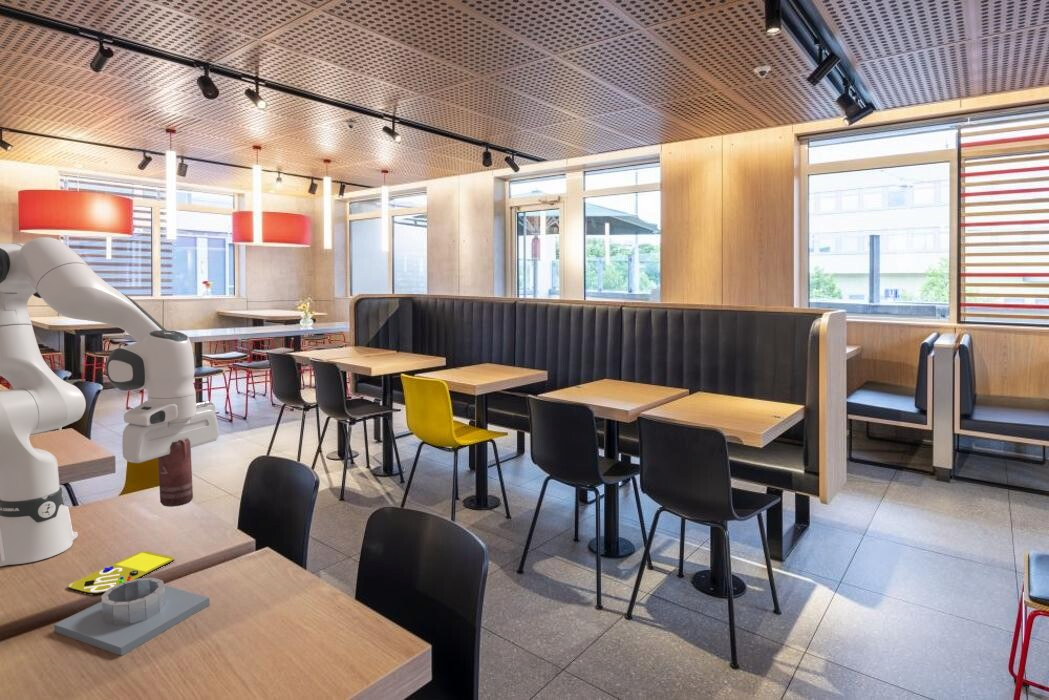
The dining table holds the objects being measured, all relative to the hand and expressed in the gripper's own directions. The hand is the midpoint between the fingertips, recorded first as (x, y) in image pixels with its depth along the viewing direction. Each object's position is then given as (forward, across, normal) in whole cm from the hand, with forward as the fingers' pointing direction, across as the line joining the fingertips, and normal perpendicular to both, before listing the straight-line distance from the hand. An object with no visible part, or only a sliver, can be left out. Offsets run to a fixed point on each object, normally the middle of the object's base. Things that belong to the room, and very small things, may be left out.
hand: (175, 471), depth 131 cm
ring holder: (+22, +15, +6) cm, 27 cm away
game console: (+25, +4, -12) cm, 28 cm away
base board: (+24, +15, +6) cm, 29 cm away
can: (+7, 0, 0) cm, 7 cm away
